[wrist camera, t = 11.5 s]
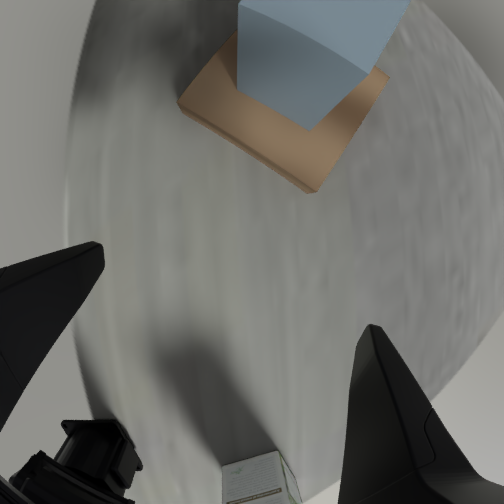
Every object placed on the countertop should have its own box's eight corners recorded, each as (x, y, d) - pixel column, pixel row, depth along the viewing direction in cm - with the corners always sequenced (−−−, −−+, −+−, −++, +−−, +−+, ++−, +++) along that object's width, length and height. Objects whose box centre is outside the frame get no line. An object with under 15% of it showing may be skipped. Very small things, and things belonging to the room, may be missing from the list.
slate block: (309, 131, 17) (368, 74, 8) (236, 89, 17) (238, 3, 8) (345, 73, 17) (410, 0, 8) (277, 34, 16) (303, -59, 7)
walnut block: (305, 193, 21) (316, 191, 18) (183, 115, 20) (176, 101, 17) (372, 90, 20) (390, 77, 17) (263, 20, 19) (267, -2, 16)
